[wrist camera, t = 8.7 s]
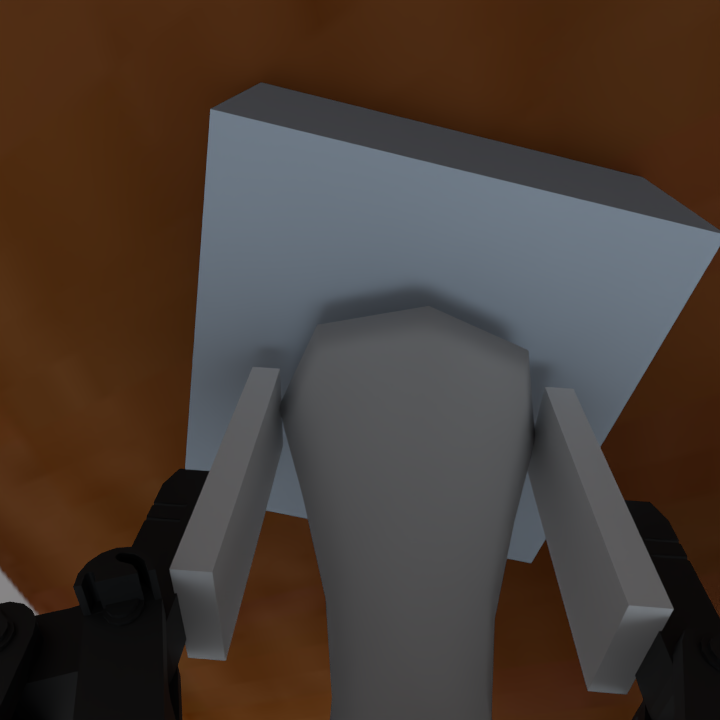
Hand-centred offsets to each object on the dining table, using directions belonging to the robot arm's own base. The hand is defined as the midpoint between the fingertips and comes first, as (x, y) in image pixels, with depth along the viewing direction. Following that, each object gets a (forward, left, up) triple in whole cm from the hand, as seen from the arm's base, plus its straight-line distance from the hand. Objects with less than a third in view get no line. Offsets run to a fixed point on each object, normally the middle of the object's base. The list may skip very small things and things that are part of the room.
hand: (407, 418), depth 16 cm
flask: (0, 0, 0) cm, 0 cm away
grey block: (0, 0, -7) cm, 7 cm away
